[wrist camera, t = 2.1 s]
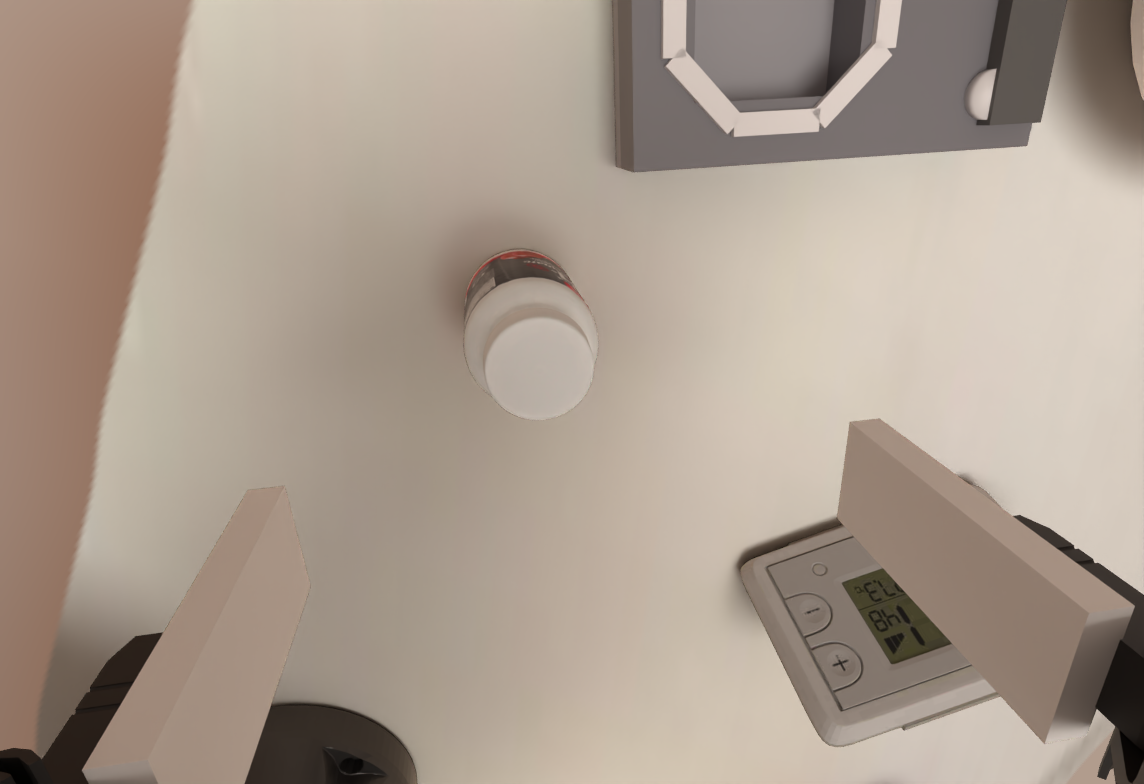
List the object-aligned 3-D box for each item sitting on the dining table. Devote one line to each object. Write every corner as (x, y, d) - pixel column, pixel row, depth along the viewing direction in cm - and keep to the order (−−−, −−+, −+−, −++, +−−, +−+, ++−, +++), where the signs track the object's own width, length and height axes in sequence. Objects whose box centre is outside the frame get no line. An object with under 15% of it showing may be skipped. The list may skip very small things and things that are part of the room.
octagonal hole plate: (616, 166, 30) (638, 173, 26) (608, -157, 25) (634, -207, 22) (971, 143, 32) (1041, 146, 28) (1025, -160, 28) (1118, -206, 24)
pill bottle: (591, 273, 32) (639, 333, 23) (547, 368, 34) (575, 458, 25) (489, 228, 30) (498, 273, 22) (447, 330, 32) (440, 411, 23)
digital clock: (984, 470, 41) (1146, 581, 31) (963, 585, 44) (1103, 716, 34) (734, 513, 39) (822, 644, 29) (734, 628, 43) (812, 779, 33)
